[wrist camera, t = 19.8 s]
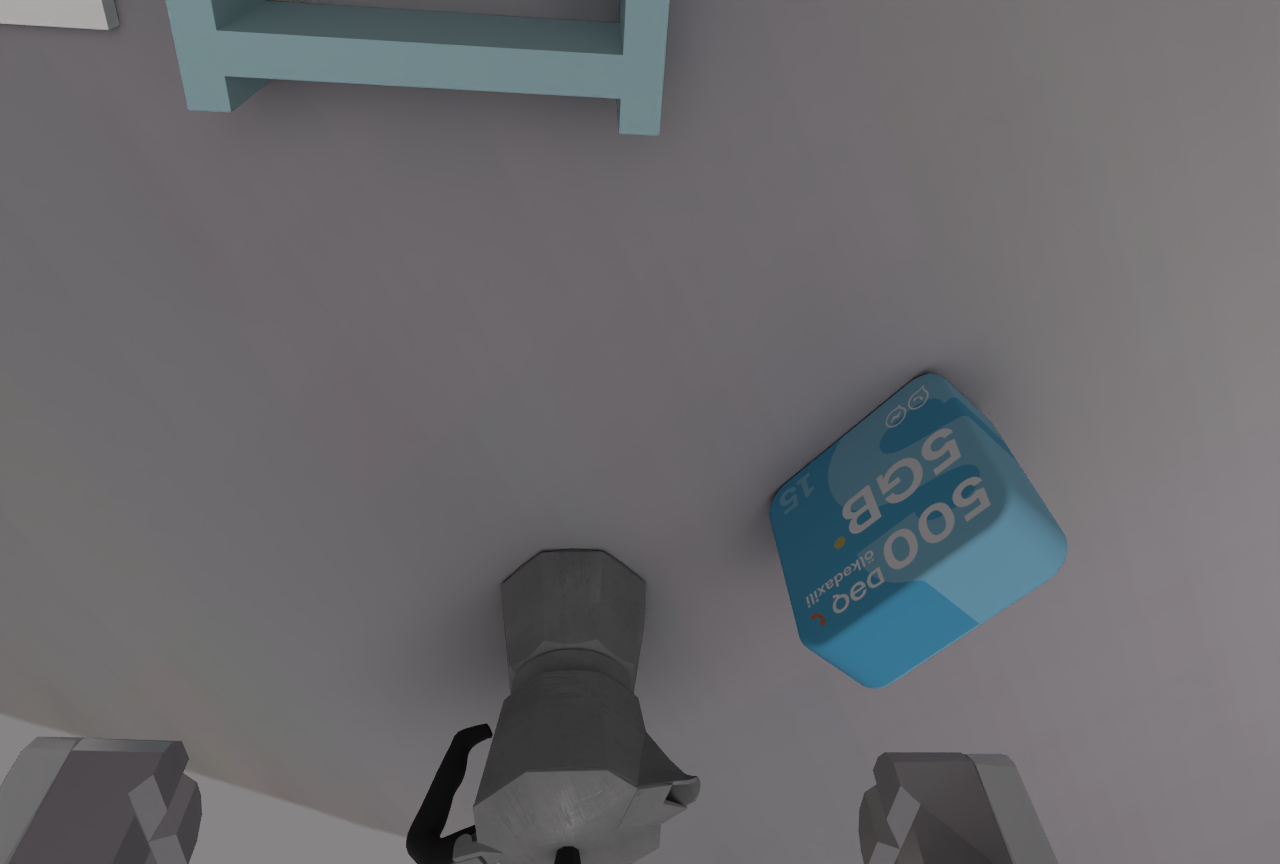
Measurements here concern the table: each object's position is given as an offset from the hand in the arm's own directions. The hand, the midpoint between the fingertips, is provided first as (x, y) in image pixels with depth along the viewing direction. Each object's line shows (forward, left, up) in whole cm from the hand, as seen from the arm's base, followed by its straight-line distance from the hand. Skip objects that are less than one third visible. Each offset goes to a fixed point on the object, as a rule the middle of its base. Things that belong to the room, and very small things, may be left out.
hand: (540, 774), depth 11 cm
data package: (+19, +17, -34) cm, 42 cm away
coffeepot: (+31, 0, -34) cm, 46 cm away
